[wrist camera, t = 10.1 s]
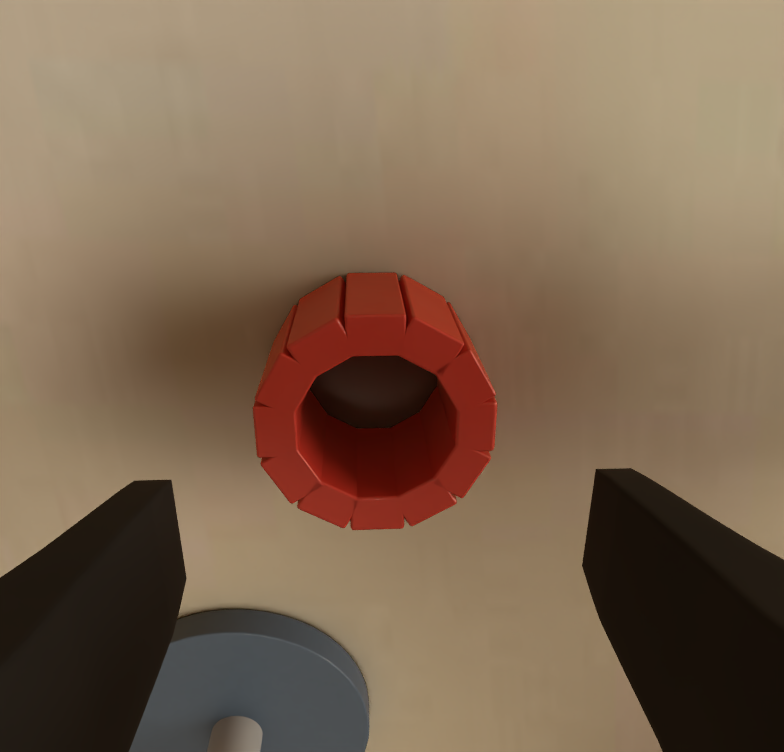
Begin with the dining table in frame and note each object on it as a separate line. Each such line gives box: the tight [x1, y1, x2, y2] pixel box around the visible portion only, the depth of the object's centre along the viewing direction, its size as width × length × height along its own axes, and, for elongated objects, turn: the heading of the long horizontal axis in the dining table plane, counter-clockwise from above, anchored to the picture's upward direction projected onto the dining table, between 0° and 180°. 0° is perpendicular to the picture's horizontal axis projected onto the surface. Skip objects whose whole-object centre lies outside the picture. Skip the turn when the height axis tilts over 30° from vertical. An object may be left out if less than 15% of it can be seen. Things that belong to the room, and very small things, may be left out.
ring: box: [253, 273, 497, 530], centre depth 16 cm, size 5×5×3 cm
